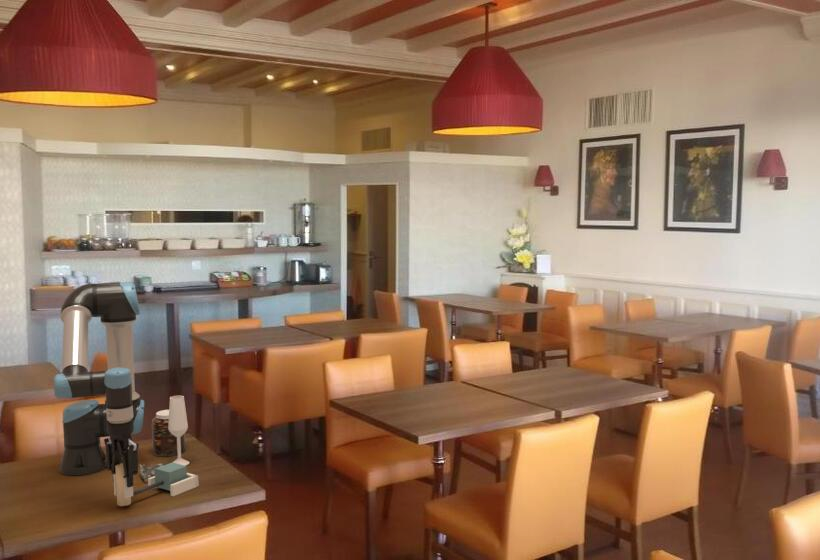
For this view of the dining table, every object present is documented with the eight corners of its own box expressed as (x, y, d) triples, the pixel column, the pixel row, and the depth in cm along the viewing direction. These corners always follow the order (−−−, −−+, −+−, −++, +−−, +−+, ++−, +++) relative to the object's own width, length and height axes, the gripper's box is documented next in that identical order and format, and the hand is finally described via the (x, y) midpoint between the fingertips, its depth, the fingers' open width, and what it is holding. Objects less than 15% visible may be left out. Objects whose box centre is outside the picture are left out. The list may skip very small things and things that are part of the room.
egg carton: (138, 475, 266) (138, 463, 265) (161, 471, 269) (161, 459, 269) (143, 484, 256) (143, 472, 256) (167, 480, 260) (166, 468, 259)
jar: (191, 451, 289) (189, 411, 288) (162, 459, 281) (160, 418, 279) (175, 444, 297) (173, 406, 296) (146, 452, 289) (144, 412, 288)
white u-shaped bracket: (148, 489, 251) (147, 478, 251) (173, 479, 260) (173, 469, 260) (173, 496, 245) (172, 485, 244) (198, 486, 253) (198, 475, 253)
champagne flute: (166, 463, 276) (163, 397, 274) (184, 459, 280) (181, 393, 278) (175, 468, 271) (172, 400, 269) (192, 463, 275) (190, 397, 273)
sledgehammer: (111, 503, 237) (109, 465, 236) (172, 480, 256) (171, 444, 255) (126, 508, 233) (124, 469, 232) (187, 484, 253) (185, 448, 251)
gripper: (91, 419, 235) (95, 493, 238) (127, 427, 226) (131, 505, 229) (112, 413, 242) (116, 486, 244) (148, 421, 233) (152, 496, 235)
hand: (123, 495), depth 236 cm, fingers closed on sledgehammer, 4 cm apart
